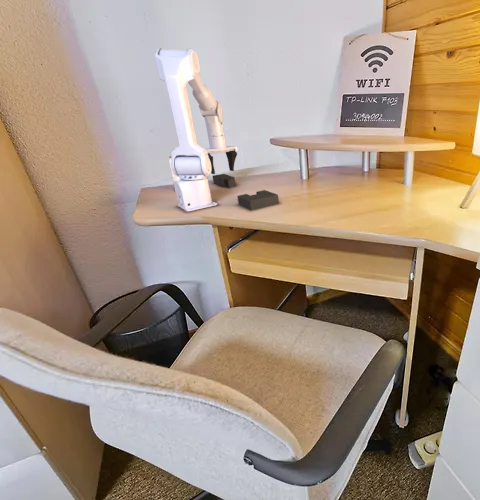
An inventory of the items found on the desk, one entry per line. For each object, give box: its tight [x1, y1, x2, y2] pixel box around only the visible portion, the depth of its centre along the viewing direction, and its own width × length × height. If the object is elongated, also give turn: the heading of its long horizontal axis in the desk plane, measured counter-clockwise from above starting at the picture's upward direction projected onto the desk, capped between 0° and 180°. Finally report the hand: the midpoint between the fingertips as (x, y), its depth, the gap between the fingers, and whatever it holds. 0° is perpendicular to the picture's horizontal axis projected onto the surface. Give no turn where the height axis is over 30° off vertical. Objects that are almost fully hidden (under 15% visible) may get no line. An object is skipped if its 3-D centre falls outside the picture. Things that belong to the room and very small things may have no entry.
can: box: [168, 155, 187, 183], centre depth 117 cm, size 6×6×12 cm
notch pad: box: [236, 189, 280, 211], centre depth 102 cm, size 10×8×3 cm
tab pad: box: [212, 173, 237, 189], centre depth 125 cm, size 5×11×3 cm, turn 45°
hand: (222, 172), depth 124 cm, fingers open, 7 cm apart
